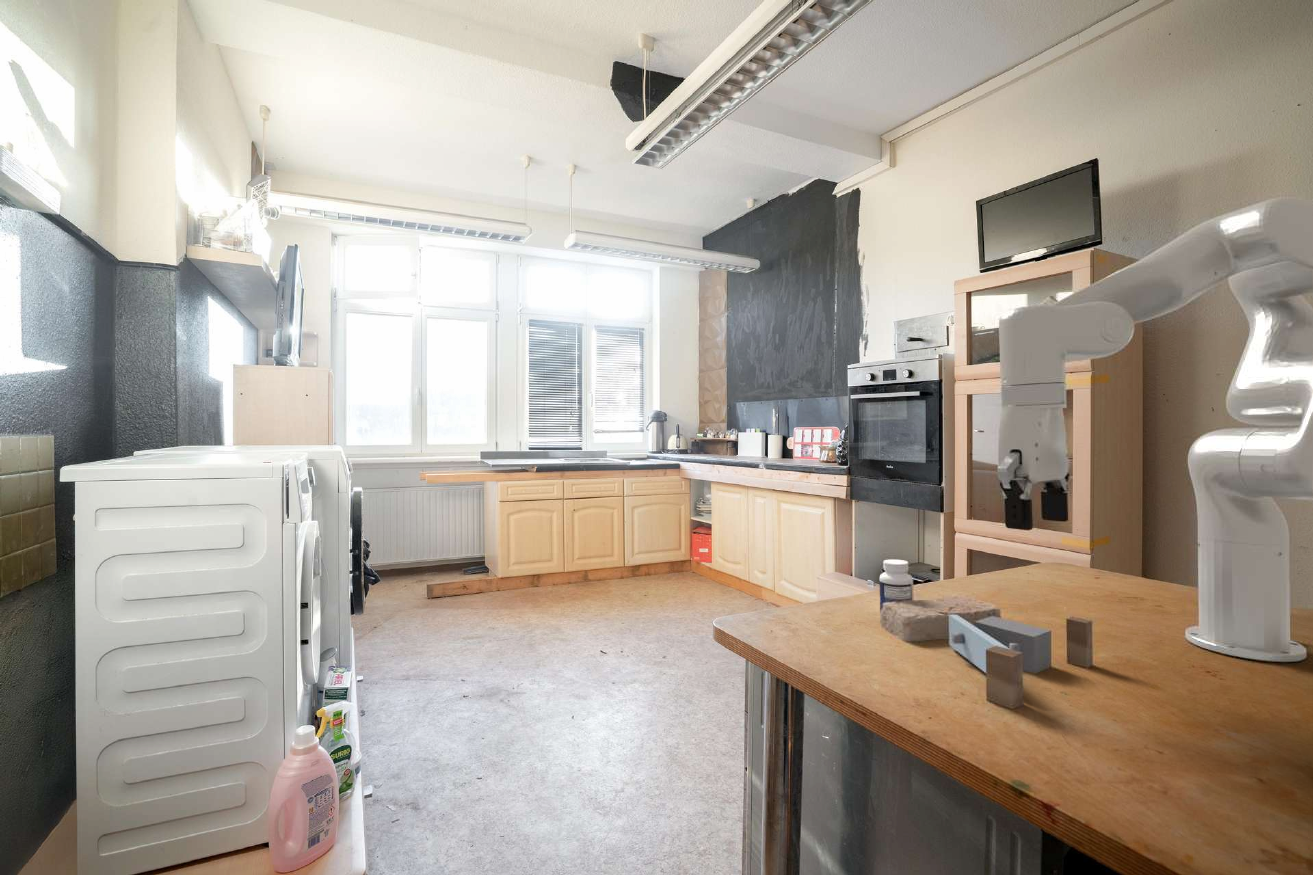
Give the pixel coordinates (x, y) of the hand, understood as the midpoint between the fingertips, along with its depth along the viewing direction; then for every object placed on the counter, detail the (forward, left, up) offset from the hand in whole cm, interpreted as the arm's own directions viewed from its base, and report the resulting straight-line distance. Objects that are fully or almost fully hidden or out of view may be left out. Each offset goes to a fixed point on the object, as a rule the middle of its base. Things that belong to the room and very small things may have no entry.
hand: (1037, 524), depth 83 cm
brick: (-3, -16, -20) cm, 25 cm away
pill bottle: (-3, -24, -19) cm, 31 cm away
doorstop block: (+1, -3, -19) cm, 20 cm away
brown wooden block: (+16, +3, -19) cm, 25 cm away
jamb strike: (-5, +3, -19) cm, 20 cm away
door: (+9, -4, -19) cm, 21 cm away
